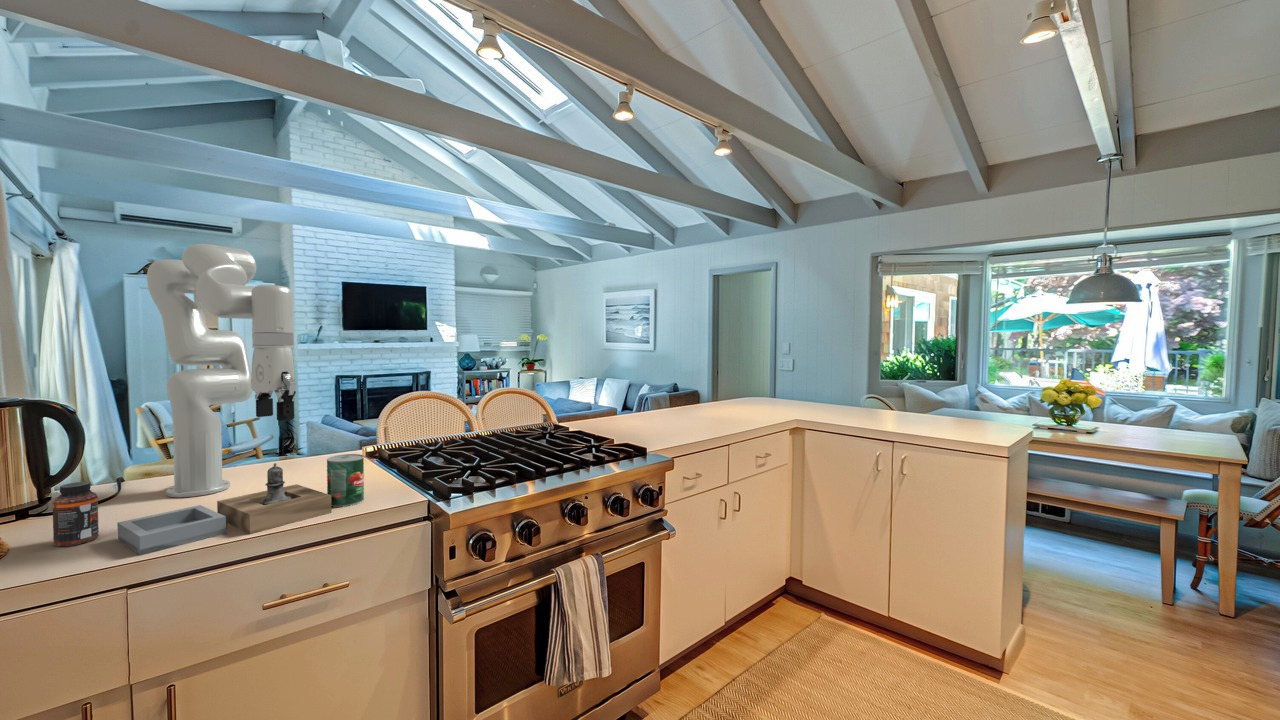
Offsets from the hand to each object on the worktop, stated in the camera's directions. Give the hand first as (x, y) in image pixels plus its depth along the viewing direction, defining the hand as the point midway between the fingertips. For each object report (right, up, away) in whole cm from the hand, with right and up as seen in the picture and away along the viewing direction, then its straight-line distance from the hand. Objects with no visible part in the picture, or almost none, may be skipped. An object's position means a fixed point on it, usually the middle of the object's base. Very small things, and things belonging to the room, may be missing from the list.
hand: (274, 418), depth 115 cm
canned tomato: (+9, -22, +11) cm, 27 cm away
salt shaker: (0, -22, +1) cm, 22 cm away
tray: (-12, -22, -12) cm, 28 cm away
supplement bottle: (-28, -23, -15) cm, 39 cm away
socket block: (0, -22, +1) cm, 22 cm away
